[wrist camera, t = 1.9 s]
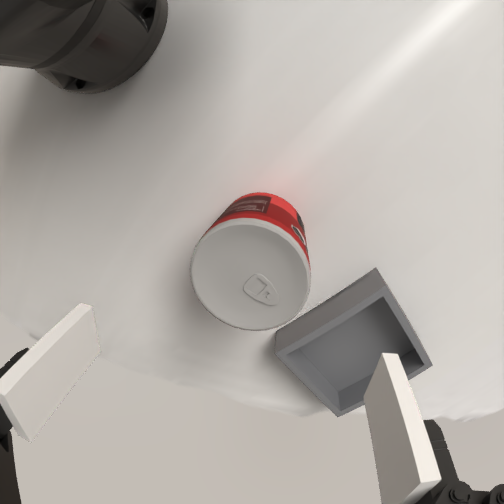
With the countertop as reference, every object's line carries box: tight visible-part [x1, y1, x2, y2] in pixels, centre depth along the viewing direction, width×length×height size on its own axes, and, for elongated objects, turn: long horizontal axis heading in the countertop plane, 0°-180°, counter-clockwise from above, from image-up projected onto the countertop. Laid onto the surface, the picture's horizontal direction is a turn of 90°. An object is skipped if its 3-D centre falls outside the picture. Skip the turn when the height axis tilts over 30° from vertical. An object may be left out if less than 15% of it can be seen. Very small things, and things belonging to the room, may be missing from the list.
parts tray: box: [275, 268, 432, 417], centre depth 31 cm, size 13×13×4 cm
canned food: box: [190, 193, 311, 331], centre depth 25 cm, size 8×8×11 cm
